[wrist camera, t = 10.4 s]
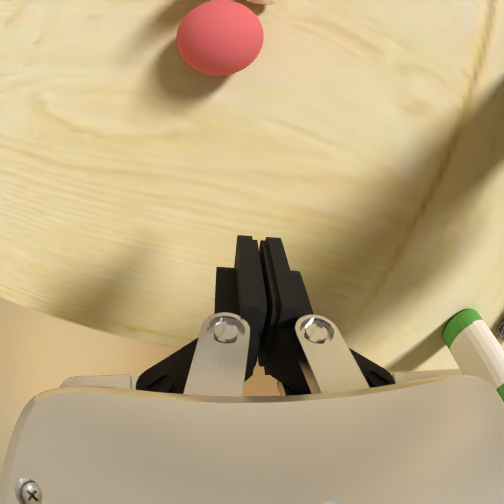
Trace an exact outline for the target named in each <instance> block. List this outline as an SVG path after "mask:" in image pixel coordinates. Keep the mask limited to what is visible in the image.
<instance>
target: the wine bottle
mask: <svg viewBox="0 0 504 504" xmlns="http://www.w3.org/2000/svg"><path fill="white" fill-rule="evenodd" d="M443 338H444V341H445V343H446V345H447V346H448V348H449V350H450V352H451V354H452V355H453V357H454V359H455V361H456V362H457V364H458V366H459V368H460V370H461V371H462V373H463V375H470V376H476V377H479V378H482V379H484V380H487V381H488V382H489V383H491V384H492V385H493V387H494V388H495V389H496V391H497V392H498V394H499V395H500V397H501V398H502V400H503V402H504V350H503V349H502V347H501V345H500V344H499V342H498V341H497V339H496V338H495V336H494V335H493V333H492V332H491V331H490V329H489V328H488V326H487V325H486V323H485V322H484V321H483V319H482V318H481V317H480V315H479V314H478V313H477V312H476V311H475V310H473V309H466V310H463V311H461V312H460V313H458V314H457V315H456V316H454V317H453V318H452V319H451V320H450V322H449V323H448V324H447V326H446V327H445V330H444V333H443Z"/></svg>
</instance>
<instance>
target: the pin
mask: <svg viewBox="0 0 504 504" xmlns="http://www.w3.org/2000/svg"><path fill="white" fill-rule="evenodd" d="M245 1H247V2H250V3H254V4H260V5H272V4H275V0H245Z"/></svg>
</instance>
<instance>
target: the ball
mask: <svg viewBox="0 0 504 504" xmlns="http://www.w3.org/2000/svg"><path fill="white" fill-rule="evenodd" d="M176 41H177V48H178V51H179V53H180V55H181V57H182V59H183V60H184V61H185V62H186V63H187V64H188V65H189V66H190V67H191V68H193V69H194V70H196V71H198V72H201V73H203V74H207V75H213V76H224V75H229V74H233V73H236V72H238V71H240V70H242V69H244V68H246V67H247V66H248V65H250V64H251V63H252V62H253V61H254V60H255V58H256V57H257V55H258V54H259V52H260V50H261V48H262V44H263V29H262V25H261V23H260V21H259V19H258V17H257V16H256V15H255V14H254V13H253V12H252V11H251V10H250V9H249V8H247V7H246V6H244V5H242V4H240V3H237V2H234V1H230V0H214V1H209V2H206V3H203V4H201V5H199V6H197V7H195V8H194V9H192V10H191V11H190V12H189V13H188V14H187V15H186V16H185V17H184V18H183V20H182V21H181V23H180V25H179V28H178V31H177V37H176Z"/></svg>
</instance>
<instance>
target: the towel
mask: <svg viewBox="0 0 504 504" xmlns="http://www.w3.org/2000/svg"><path fill="white" fill-rule="evenodd" d="M497 333H498V337H502V338H503V339H504V320H503V321H502V322H501V324H500V325H499V326H498V327H497Z"/></svg>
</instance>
